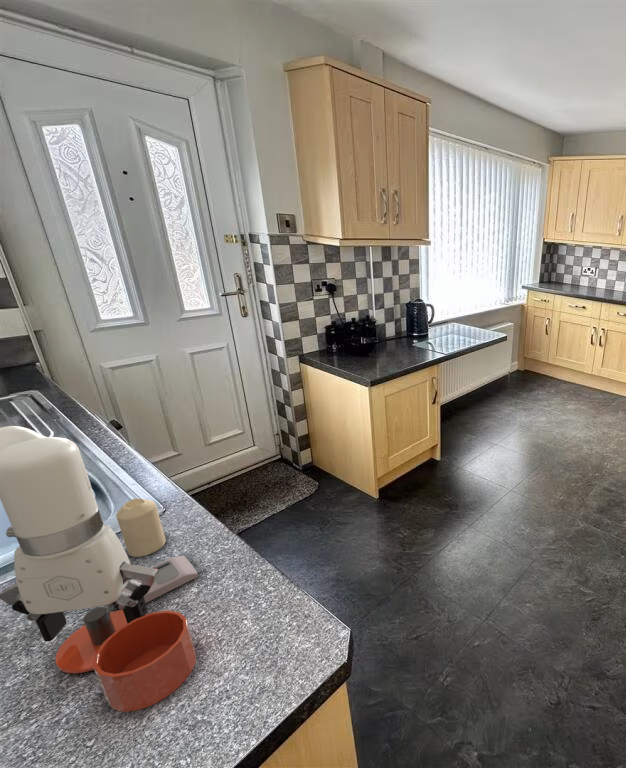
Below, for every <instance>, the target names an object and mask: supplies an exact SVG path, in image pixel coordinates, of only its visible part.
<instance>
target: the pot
mask: <svg viewBox="0 0 626 768" xmlns="http://www.w3.org/2000/svg"><path fill="white" fill-rule="evenodd" d="M196 661H197V653H196V647H195V644H194V640H193V637H192V633H191V629H190V626H189V623H188V619H187V618H186V617H185V616H184V614H183V613H181V612H180V611H174V610H167V609H166V610H162V611H155V612H150V613H147V615H145V616H143V617H140V618H137V619H135V620H133V621H131V622H130V623H128V624H126V625H125V626H123V627H121V628H120V629H118V630H117V631H116V632H115V633H113V634H112V635H111V636H110V637H109V638H108V639H106V640H105V641H104V642H103V644H102V645H101V647H100V648H99V650H98V651H97V652H96V654H95V656H94V663H93V668H94V670H93V671H94V674H95V676H96V678H97V680H98V683H99V685H100V687H101V690H102V693H103V695H104V697H105V700H106V701H107V703H108V705H109V706H110V707H111V708H112V709H113V710H115V711H118V712H123V713H126V712H128V713H129V712H136V711H140V710H143V709H146V708H148V707H151V706H153V705H155V704H158V703H160V701H163V700H165V699H166V698H168V697H169V696H170V695H172V694H173V693H174V692H175V691H176V690H177V689H179V688H180V687H181V686H182V685H183V684H184V683H185V682H186V680H187V679H188V678H189V676H190V675H191V673H192V672H193V670H194V668H195V665H196Z"/></svg>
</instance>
